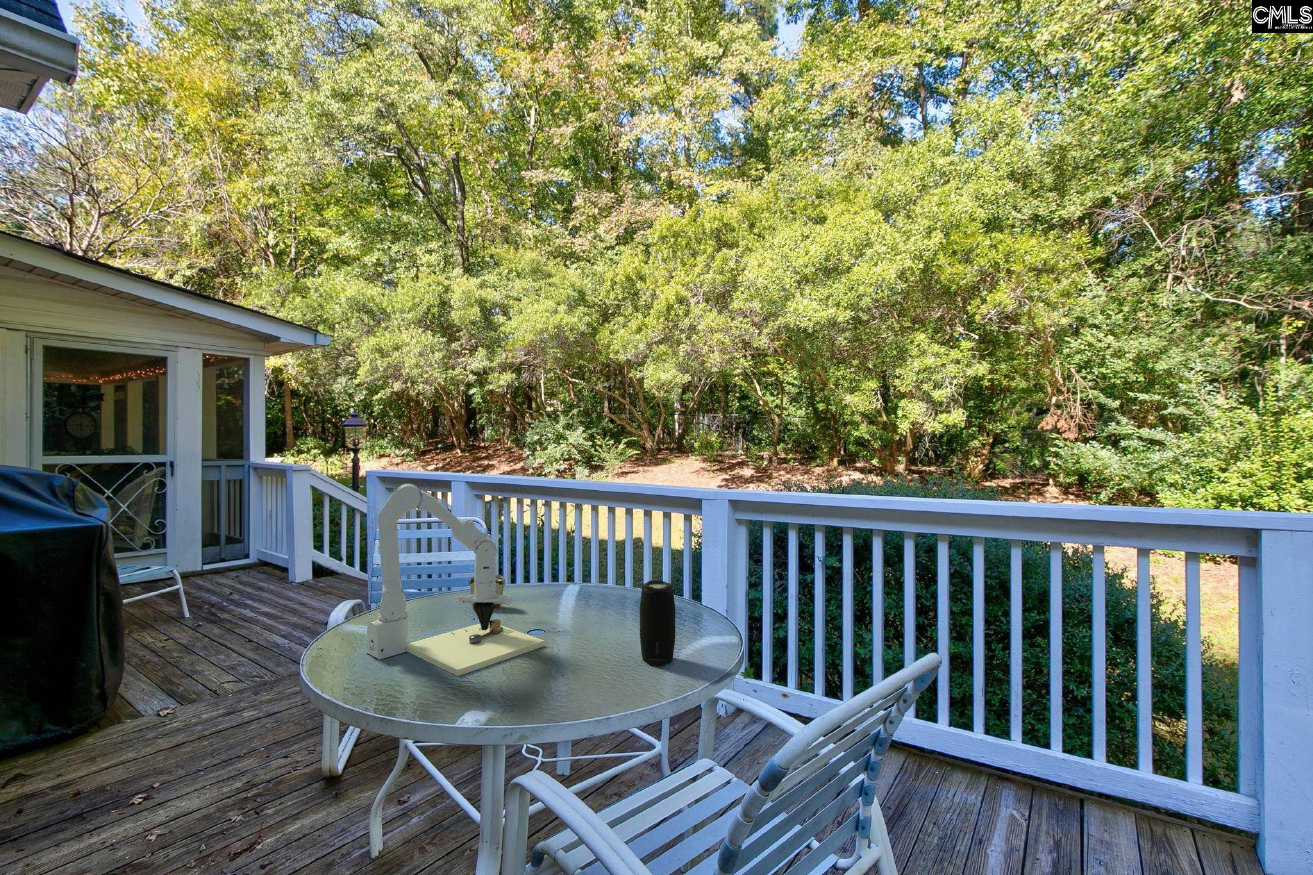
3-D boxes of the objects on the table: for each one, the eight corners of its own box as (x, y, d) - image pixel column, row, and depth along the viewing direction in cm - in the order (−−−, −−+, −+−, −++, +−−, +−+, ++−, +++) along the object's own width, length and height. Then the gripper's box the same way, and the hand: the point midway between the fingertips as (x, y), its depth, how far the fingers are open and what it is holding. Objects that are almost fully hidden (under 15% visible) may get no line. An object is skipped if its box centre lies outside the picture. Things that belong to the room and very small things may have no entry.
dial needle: (475, 644, 157) (475, 632, 157) (466, 642, 158) (466, 630, 158) (506, 629, 168) (506, 618, 168) (497, 628, 169) (497, 617, 169)
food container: (511, 604, 200) (511, 574, 200) (504, 609, 194) (504, 579, 194) (475, 603, 201) (475, 573, 201) (468, 608, 195) (468, 578, 195)
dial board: (457, 676, 140) (457, 669, 140) (404, 650, 157) (404, 644, 157) (544, 646, 160) (544, 640, 160) (488, 625, 177) (488, 620, 177)
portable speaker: (647, 652, 156) (647, 577, 156) (680, 657, 152) (680, 581, 152) (633, 663, 148) (633, 585, 148) (668, 669, 144) (668, 589, 144)
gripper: (514, 577, 169) (514, 625, 169) (465, 576, 171) (466, 623, 171) (506, 584, 162) (506, 633, 162) (455, 582, 164) (455, 632, 164)
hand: (485, 629), depth 166 cm, fingers closed
